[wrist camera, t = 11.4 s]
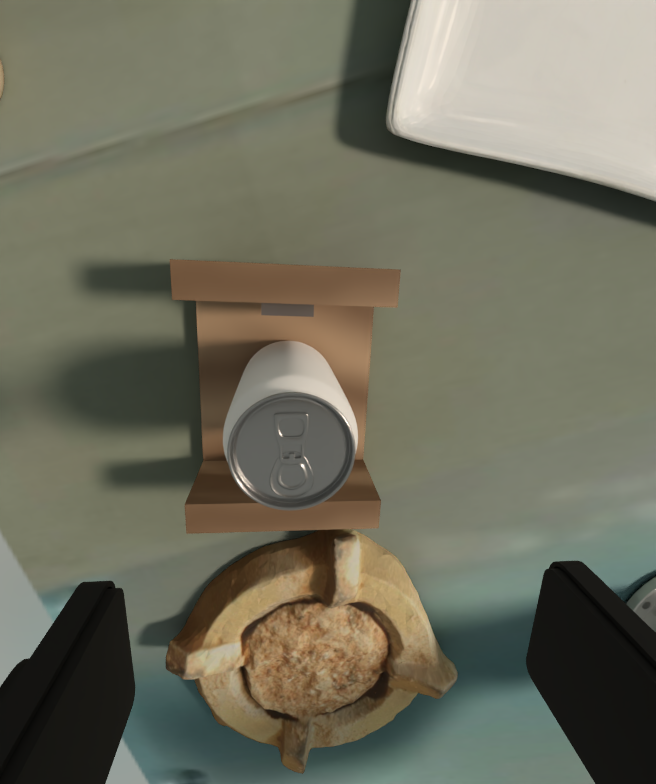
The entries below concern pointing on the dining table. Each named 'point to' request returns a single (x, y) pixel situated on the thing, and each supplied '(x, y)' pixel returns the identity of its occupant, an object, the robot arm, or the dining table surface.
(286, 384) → the can
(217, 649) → the ashtray
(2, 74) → the candle
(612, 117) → the square plate
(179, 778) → the dining table surface
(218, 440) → the holder
